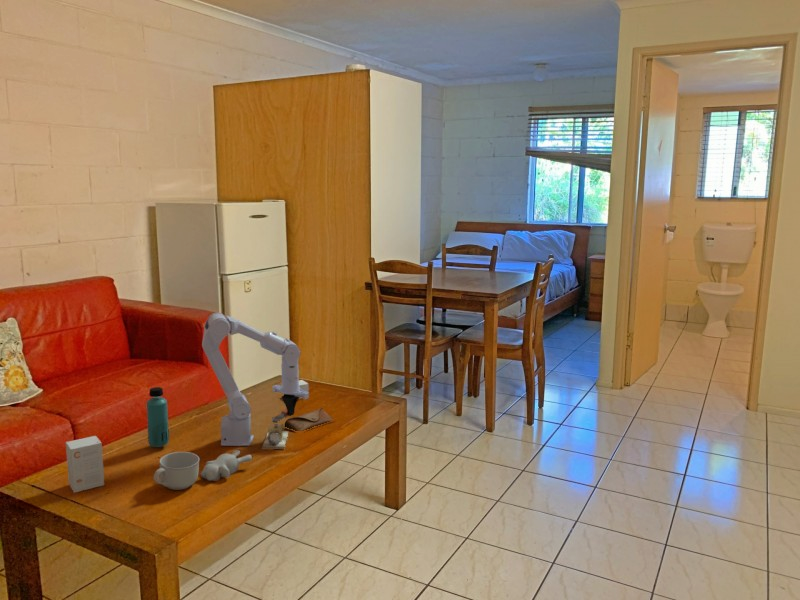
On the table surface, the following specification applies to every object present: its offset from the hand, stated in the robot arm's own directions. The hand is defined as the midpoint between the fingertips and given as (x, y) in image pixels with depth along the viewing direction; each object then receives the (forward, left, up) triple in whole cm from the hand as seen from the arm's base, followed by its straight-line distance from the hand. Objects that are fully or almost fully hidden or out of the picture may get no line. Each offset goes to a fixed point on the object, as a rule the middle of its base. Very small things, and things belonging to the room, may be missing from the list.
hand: (290, 414), depth 218 cm
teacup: (-28, -38, -8) cm, 48 cm away
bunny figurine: (-16, -29, -8) cm, 34 cm away
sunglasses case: (+6, +10, -8) cm, 14 cm away
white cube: (-1, +39, -8) cm, 40 cm away
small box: (-53, -37, -8) cm, 65 cm away
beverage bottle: (-41, -11, -8) cm, 43 cm away
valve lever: (-3, -2, 0) cm, 3 cm away
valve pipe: (-4, -6, -7) cm, 10 cm away
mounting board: (-4, -6, -7) cm, 10 cm away
